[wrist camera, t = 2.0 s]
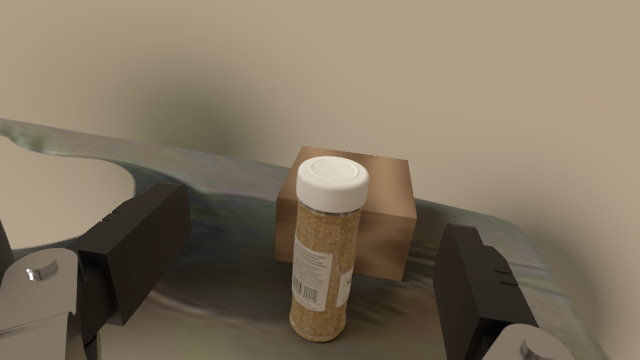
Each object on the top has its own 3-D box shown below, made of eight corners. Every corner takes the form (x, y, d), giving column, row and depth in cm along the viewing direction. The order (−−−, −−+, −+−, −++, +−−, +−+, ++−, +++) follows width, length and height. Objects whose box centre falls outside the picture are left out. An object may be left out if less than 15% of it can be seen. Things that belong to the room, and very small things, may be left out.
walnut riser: (274, 260, 35) (276, 197, 31) (299, 198, 45) (302, 145, 42) (401, 281, 34) (417, 218, 30) (396, 212, 44) (407, 160, 41)
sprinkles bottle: (356, 330, 28) (385, 178, 22) (304, 354, 26) (320, 192, 20) (326, 291, 32) (344, 149, 26) (278, 309, 30) (285, 158, 23)
